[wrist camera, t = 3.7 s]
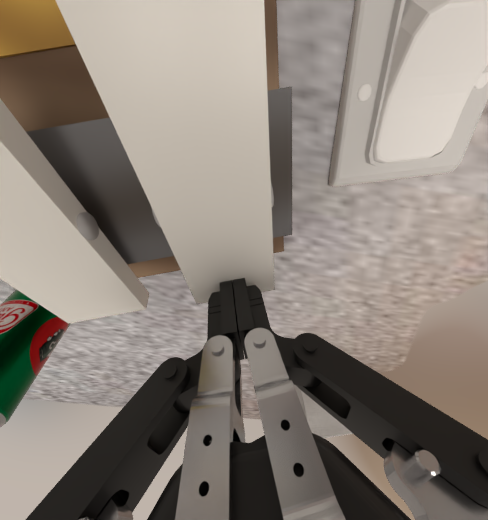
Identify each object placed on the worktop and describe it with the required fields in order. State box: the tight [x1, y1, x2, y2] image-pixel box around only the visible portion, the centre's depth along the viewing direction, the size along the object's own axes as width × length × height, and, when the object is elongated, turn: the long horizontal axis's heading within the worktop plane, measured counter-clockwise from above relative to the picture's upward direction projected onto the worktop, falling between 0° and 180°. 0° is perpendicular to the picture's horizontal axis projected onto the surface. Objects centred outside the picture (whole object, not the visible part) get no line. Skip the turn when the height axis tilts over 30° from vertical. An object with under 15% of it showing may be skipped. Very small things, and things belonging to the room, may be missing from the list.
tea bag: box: [294, 385, 353, 438], centre depth 33 cm, size 4×7×10 cm, turn 88°
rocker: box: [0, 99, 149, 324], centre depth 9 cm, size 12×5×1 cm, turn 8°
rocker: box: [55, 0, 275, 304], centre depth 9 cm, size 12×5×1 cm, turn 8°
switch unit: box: [0, 0, 292, 278], centre depth 14 cm, size 18×18×7 cm
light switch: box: [329, 0, 488, 187], centre depth 14 cm, size 11×4×13 cm
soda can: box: [0, 290, 71, 427], centre depth 17 cm, size 5×5×12 cm
